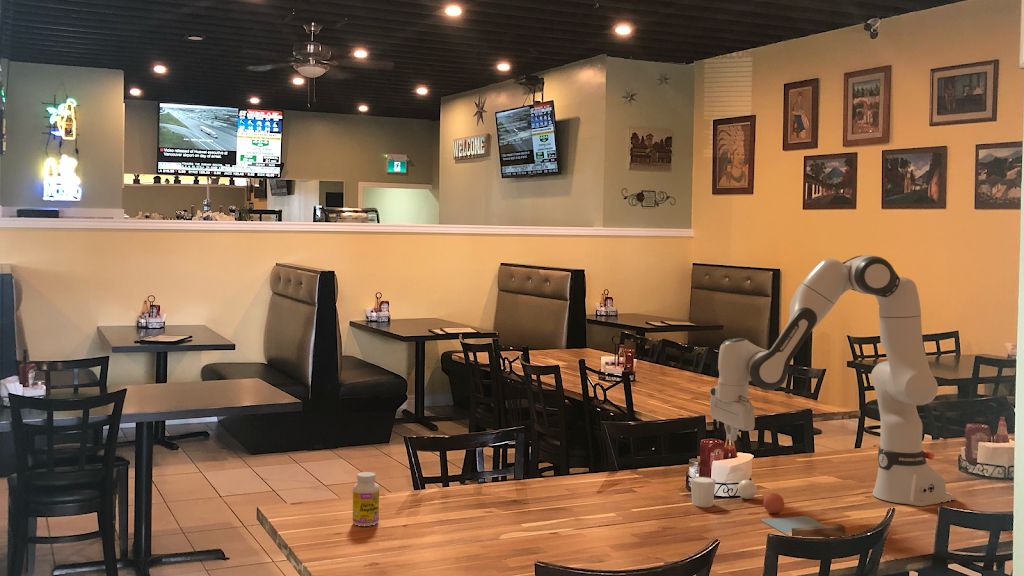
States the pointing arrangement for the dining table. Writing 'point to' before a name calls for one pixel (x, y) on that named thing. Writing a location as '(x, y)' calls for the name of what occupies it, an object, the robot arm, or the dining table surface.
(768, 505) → the red ball
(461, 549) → the dining table surface
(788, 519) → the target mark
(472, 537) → the dining table surface
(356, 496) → the supplement bottle
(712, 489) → the white cup
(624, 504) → the dining table surface
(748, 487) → the cue ball
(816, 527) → the strip
